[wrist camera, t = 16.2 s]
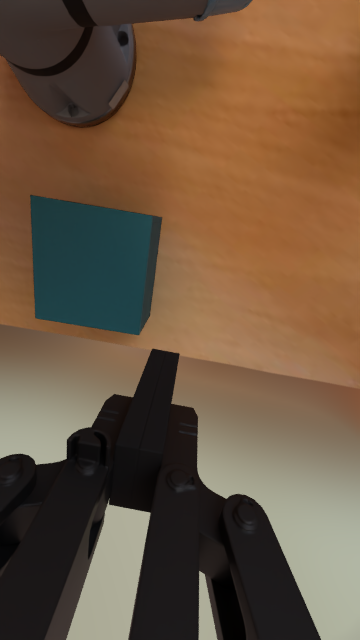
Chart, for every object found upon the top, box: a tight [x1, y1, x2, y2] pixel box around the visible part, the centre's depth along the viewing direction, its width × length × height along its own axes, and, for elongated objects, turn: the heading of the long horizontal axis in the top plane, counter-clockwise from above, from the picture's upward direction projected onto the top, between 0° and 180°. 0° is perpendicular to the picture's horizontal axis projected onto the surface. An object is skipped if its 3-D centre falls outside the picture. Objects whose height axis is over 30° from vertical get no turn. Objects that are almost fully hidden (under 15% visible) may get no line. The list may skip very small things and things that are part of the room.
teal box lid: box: [30, 195, 153, 335], centre depth 34 cm, size 14×16×1 cm
